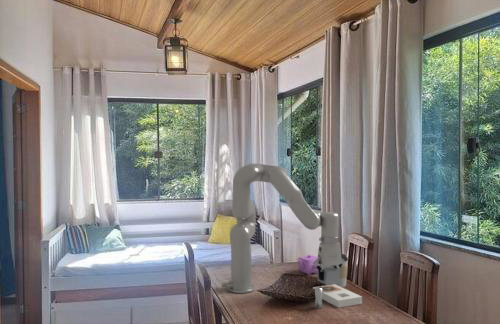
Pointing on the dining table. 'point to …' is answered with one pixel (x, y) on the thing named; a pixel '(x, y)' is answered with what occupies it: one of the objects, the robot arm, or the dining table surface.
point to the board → (339, 296)
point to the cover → (330, 276)
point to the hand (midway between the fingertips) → (328, 278)
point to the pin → (318, 297)
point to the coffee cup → (343, 271)
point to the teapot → (307, 264)
